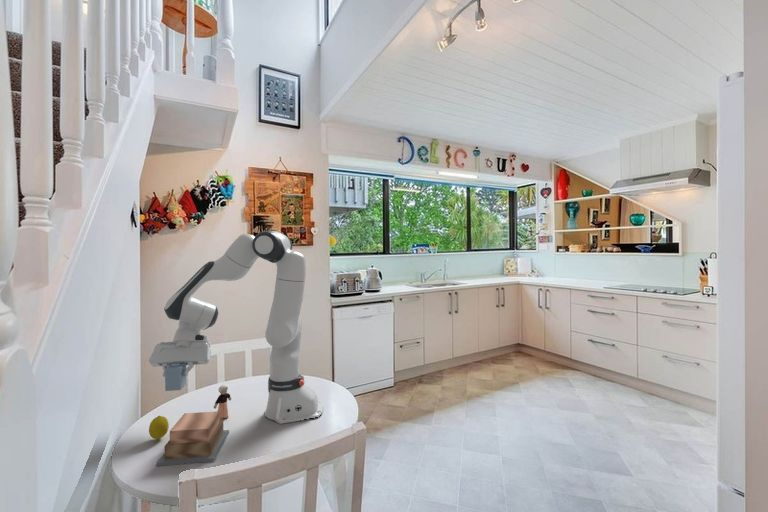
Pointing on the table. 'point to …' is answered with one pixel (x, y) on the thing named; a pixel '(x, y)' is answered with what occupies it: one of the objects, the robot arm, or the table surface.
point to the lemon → (158, 427)
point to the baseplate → (196, 459)
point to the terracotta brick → (194, 435)
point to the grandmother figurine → (222, 402)
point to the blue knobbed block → (175, 377)
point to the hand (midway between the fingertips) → (175, 375)
